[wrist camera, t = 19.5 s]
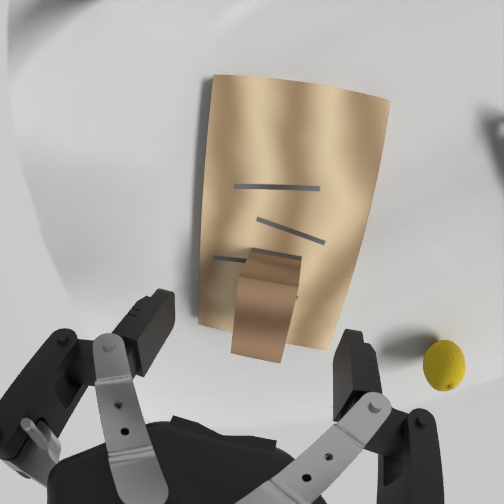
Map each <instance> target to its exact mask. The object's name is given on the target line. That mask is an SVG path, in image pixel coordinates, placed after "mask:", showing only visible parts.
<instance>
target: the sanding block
mask: <svg viewBox="0 0 504 504" xmlns="http://www.w3.org/2000/svg"><path fill="white" fill-rule="evenodd" d="M301 261H302V256H296V255H291V254H286V253H280V252H275V251H270V250H264V249H259V248H253V247H252V249H251V251H250V254H249V256H248V258H247V260H246V262H245V264H244V266H243V268H242V270H241V272H240V274H239V277H238V287H237V296H236V306H235V316H234V326H233V336H232V346H231V353H233V354H237V355H242V356H246V357H251V358H255V359H260V360H265V361H270V362H275V363H280V362H281V358H282V354H283V351H284V347H285V343H286V339H287V335H288V331H289V326H290V322H291V318H292V314H293V310H294V305H295V301H296V297H297V292H298V288H299V279H300V270H301Z"/></svg>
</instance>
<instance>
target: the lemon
mask: <svg viewBox="0 0 504 504" xmlns="http://www.w3.org/2000/svg"><path fill="white" fill-rule="evenodd" d="M423 371H424V374H425V377H426V379H427V381H428V382H429V384H430V385H431V386H432V387H433V388H434V389H436V390H438V391H449V390H452V389H454V388H455V387H456V386H458V385H459V383H460V382H461V381H462V379H463V377H464V374H465V359H464V356H463V353H462V351H461V349H460V348H459V347H458V346H457V345H456V344H455V343H454V342H452V341H449V340H441V341H437V342H435V343H434V344H432V345H431V346H430V347H429V348H428V350H427V351H426V353H425V356H424V359H423Z"/></svg>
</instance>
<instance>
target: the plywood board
mask: <svg viewBox="0 0 504 504" xmlns="http://www.w3.org/2000/svg"><path fill="white" fill-rule="evenodd" d="M389 107H390V100H386V99H382V98H378V97H375V96H371V95H366V94H362V93H358V92H353V91H349V90H344V89H339V88H334V87H328V86H323V85H317V84H311V83H304V82H297V81H290V80H282V79H273V78H263V77H251V76H235V75H214V76H213V85H212V94H211V103H210V113H209V123H208V134H207V145H206V158H205V171H204V185H203V201H202V218H201V239H200V265H199V308H198V324H200V325H204V326H208V327H212V328H216V329H220V330H225V331H229V332H233V326H234V316H235V306H236V296H237V287H238V277H239V274H240V272H241V270H242V268H243V266H244V264H245V262H246V260H247V258H248V256H249V254H250V251H251V249H252V247H253V248H259V249H264V250H270V251H275V252H280V253H286V254H291V255H296V256H302V261H301V270H300V279H299V288H298V292H297V297H296V301H295V305H294V310H293V314H292V318H291V322H290V326H289V331H288V335H287V339H286V343H287V344H292V345H298V346H304V347H309V348H315V349H322V350H328V347H329V345H330V342H331V339H332V336H333V334H334V331H335V328H336V325H337V322H338V319H339V316H340V313H341V310H342V307H343V304H344V301H345V298H346V295H347V292H348V288H349V285H350V282H351V279H352V275H353V272H354V269H355V265H356V262H357V258H358V255H359V251H360V247H361V244H362V240H363V236H364V232H365V228H366V224H367V220H368V216H369V212H370V208H371V204H372V199H373V195H374V190H375V186H376V181H377V176H378V171H379V166H380V161H381V156H382V151H383V145H384V139H385V133H386V127H387V121H388V114H389Z"/></svg>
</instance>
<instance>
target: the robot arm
mask: <svg viewBox="0 0 504 504" xmlns="http://www.w3.org/2000/svg"><path fill="white" fill-rule="evenodd" d="M174 323H175V295H174V292H171V291H167V290H163V289H157V290H156V291H155V293H154V294H153V295H152V296H151V297H149V296H145V297H144V298H142V299H140V300H138V301H137V302H136V303H135V305H134V306H133V307H132V309H130V311H129V312H128V314H126V316H125V317H124V318H123V319H122V321H121V322H120V323H119V324H118V326H117V327H116V328H115V329H114V331H113V332H112V333H106V334H102V335H100V336H98V337H97V338H96V339H95V340H94V341H92V340H81V339H78V338H77V335H76V333H75V332H74V331H73V330H71V329H65V328H64V329H59V330H56V331H55V332H53V333H52V334H51V335H50V337H49V338H48V339H47V340H46V341H45V342H44V344H43V345H42V346H41V347H40V349H39V350H38V351H37V352H36V353H35V355H34V356H33V357H32V358H31V360H30V361H29V362H28V364H27V365H26V366H25V368H24V369H23V370H22V371H21V373H20V374H19V375H18V376H17V378H16V379H15V380H14V382H13V383H12V384H11V386H10V387H9V389H8V390H7V391H6V393H5V394H4V395H3V397H2V398H1V400H0V459H1V460H2V461H3V462H4V463H5V464H7V465H8V466H9V467H10V468H12V469H13V470H15V471H16V472H18V473H19V474H20V475H22V476H23V477H25V478H29V479H30V478H32V479H33V480H35V481H36V482H38V483H40V484H41V485H43V486H44V487H46V488H47V504H327V503H326V501H325V500H324V499H323V497H322V496H321V494H322V493H323V492H324V491H325V490H326V489H327V488H328V487H329V486H330V485H331V484H332V483H333V482H334V481H335V480H336V479H337V477H339V476H340V474H341V473H342V472H343V471H344V470H345V469H346V468H347V467H348V466H349V464H351V462H352V461H353V460H354V459H355V458H356V457H357V455H358V454H359V453H360V452H361V451H362V450H363V449H366V450H369V451H371V452H374V453H377V454H378V487H377V488H378V489H377V504H444V487H443V474H442V464H441V456H440V448H439V440H438V434H437V427H436V422H435V418H434V417H433V415H432V414H431V413H430V412H429V411H427V410H425V409H421V408H418V409H414V410H412V411H411V412H410V413H409V414H408V413H405V412H402V411H399V410H396V409H394V408H392V407H391V403H390V401H389V400H388V399H387V398H386V397H385V396H384V395H383V394H382V388H381V381H380V375H379V369H378V363H377V358H376V352H375V351H374V349H373V348H372V346H371V345H370V344H369V343H364V340H363V334H362V332H361V331H356V330H350V329H345V331H344V333H343V335H342V338H341V340H340V343H339V345H338V347H337V350H336V352H335V355H334V359H333V421H335V422H338V423H337V424H334V425H332V426H331V427H330V428H329V429H328V430H327V431H326V432H325V433H324V434H323V435H322V436H321V437H320V438H319V439H318V440H317V441H316V442H314V443H313V444H312V445H311V446H310V447H309V448H308V449H307V450H305V451H304V452H303V453H302V454H301V455H300V456H299V457H298V458H296V459H294V458H293V457H292V456H291V455H289V454H288V453H286V452H285V451H283V450H281V449H279V448H276V442H277V441H276V440H270V439H265V438H260V437H255V436H225V435H221V434H218V433H216V432H214V431H212V430H210V429H209V428H207V427H205V426H203V425H201V424H199V423H197V422H193V421H190V420H187V419H183V418H180V417H177V416H174V415H173V417H172V419H171V421H170V422H169V421H160V422H153V423H148V424H145V422H144V419H143V416H142V412H141V409H140V406H139V402H138V399H137V395H136V391H135V387H134V384H133V379H134V377H135V375H139V376H141V377H144V376H145V374H146V373H147V371H148V369H149V368H150V366H151V364H152V363H153V361H154V359H155V357H156V356H157V354H158V352H159V351H160V349H161V347H162V346H163V344H164V342H165V341H166V339H167V337H168V336H169V334H170V332H171V331H172V329H173V326H174ZM88 386H95V389H96V395H97V402H98V407H99V413H100V419H101V424H102V428H103V433H104V438H105V443H103V444H100V445H98V446H96V447H93V448H91V449H88V450H86V451H84V452H81V453H78V454H76V455H73V456H70V457H68V458H65V459H63V460H61V461H59V455H60V452H61V445H60V442H59V440H58V437H59V436H60V434H61V432H62V430H63V428H64V427H65V425H66V423H67V421H68V419H69V418H70V416H71V414H72V413H73V411H74V409H75V407H76V406H77V404H78V402H79V401H80V399H81V397H82V396H83V394H84V392H85V391H86V389H87V387H88Z"/></svg>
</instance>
